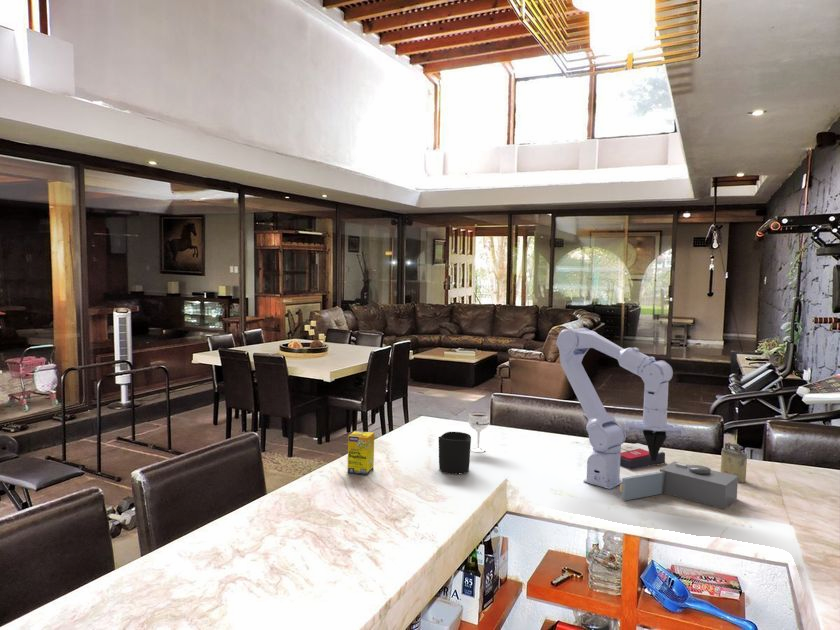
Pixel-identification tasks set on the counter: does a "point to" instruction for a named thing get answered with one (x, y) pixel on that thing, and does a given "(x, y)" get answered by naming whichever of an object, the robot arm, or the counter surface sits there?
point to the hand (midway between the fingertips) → (652, 459)
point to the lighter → (734, 461)
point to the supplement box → (360, 452)
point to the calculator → (638, 456)
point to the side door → (642, 485)
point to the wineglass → (478, 423)
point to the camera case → (700, 484)
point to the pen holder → (454, 452)
